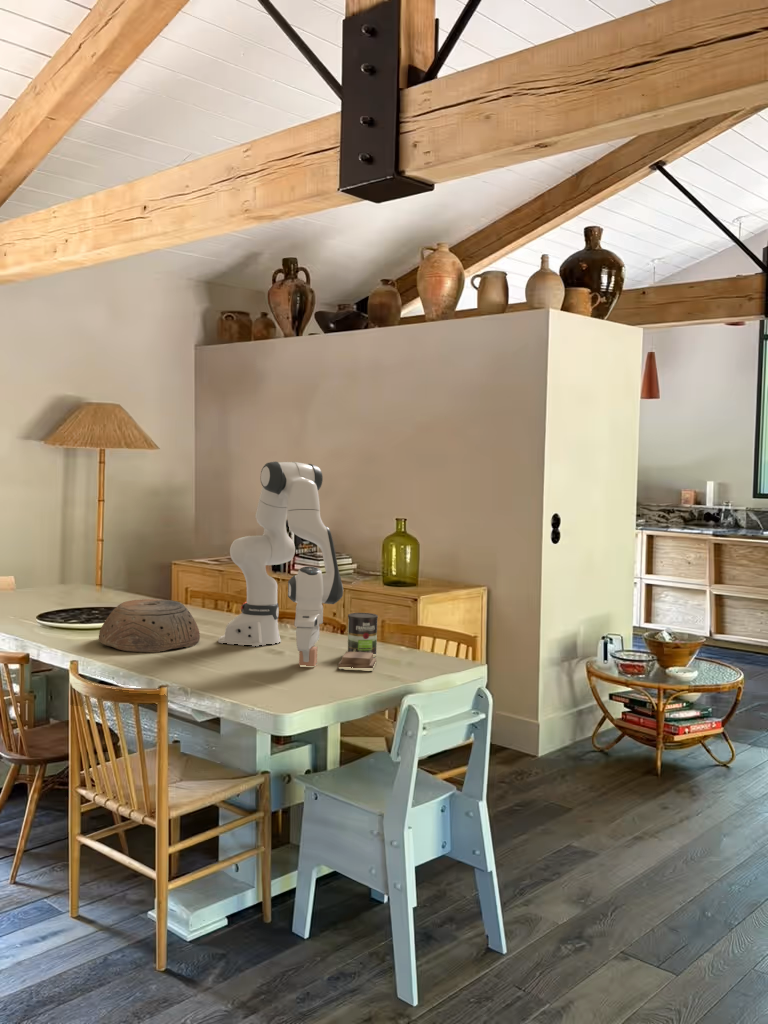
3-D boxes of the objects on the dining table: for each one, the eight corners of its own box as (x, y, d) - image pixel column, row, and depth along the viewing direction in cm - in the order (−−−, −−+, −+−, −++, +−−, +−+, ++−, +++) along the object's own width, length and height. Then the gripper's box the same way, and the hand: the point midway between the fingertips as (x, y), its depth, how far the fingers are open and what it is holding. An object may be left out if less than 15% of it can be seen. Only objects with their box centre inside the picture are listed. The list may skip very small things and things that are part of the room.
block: (299, 667, 299) (299, 648, 298) (302, 663, 304) (302, 645, 303) (314, 668, 298) (314, 649, 298) (317, 664, 303) (317, 646, 303)
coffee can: (380, 658, 316) (381, 617, 315) (350, 659, 313) (351, 617, 312) (372, 651, 326) (373, 612, 325) (344, 652, 323) (345, 612, 322)
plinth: (338, 670, 296) (338, 657, 296) (343, 662, 307) (343, 650, 307) (372, 671, 295) (372, 659, 295) (376, 664, 306) (376, 652, 306)
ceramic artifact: (85, 654, 313) (84, 610, 312) (112, 635, 348) (112, 595, 348) (190, 653, 314) (190, 609, 313) (206, 635, 350) (206, 595, 349)
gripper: (305, 611, 311) (304, 652, 312) (293, 622, 290) (292, 665, 291) (324, 612, 310) (323, 653, 311) (313, 623, 290) (312, 666, 291)
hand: (308, 659), depth 301 cm, fingers closed on block, 5 cm apart
